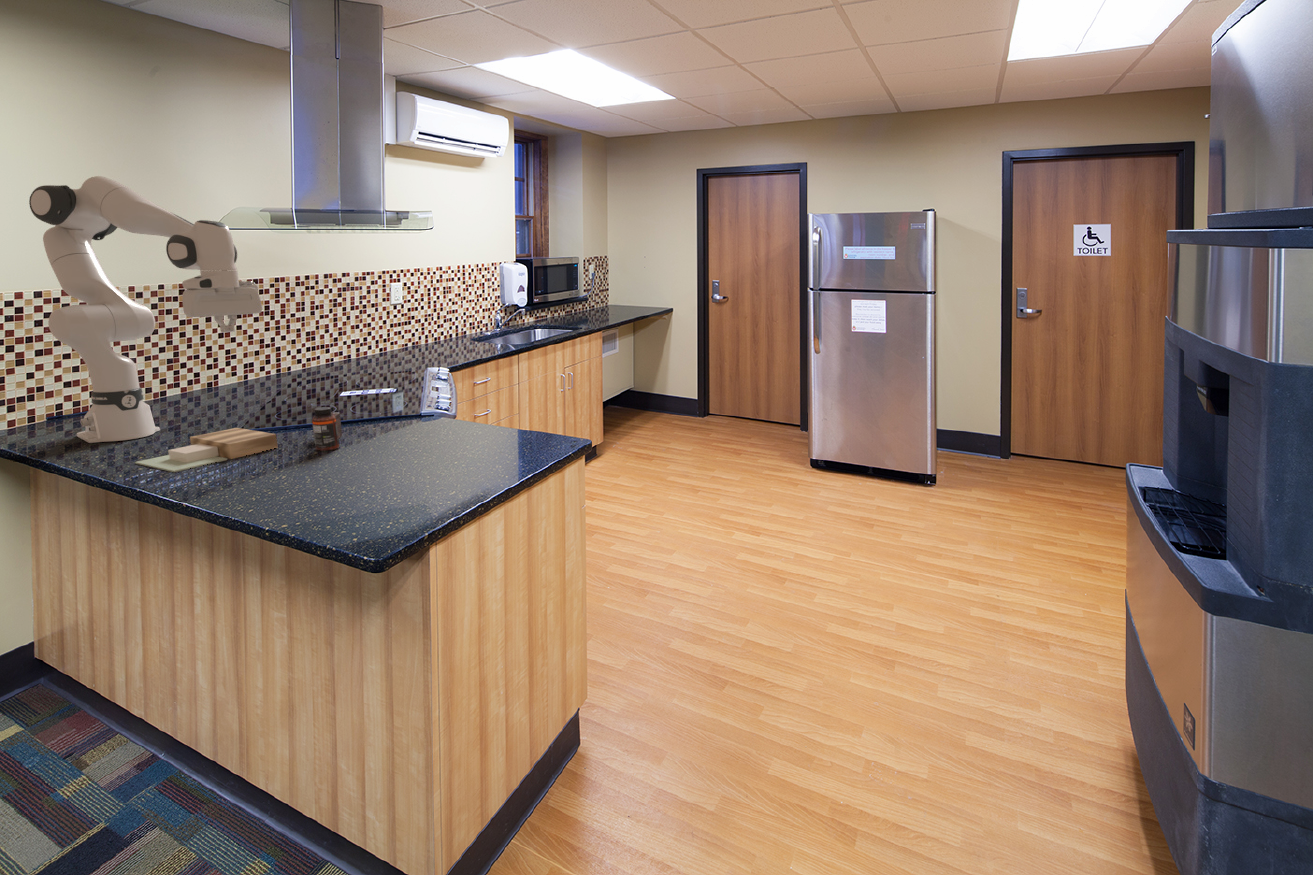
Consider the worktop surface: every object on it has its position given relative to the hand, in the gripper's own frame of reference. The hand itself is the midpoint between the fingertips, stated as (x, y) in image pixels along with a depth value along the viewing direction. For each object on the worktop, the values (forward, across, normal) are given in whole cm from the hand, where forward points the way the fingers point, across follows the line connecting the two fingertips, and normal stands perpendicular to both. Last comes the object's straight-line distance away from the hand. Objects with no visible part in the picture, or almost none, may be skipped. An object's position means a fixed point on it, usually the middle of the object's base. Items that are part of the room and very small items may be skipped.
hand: (227, 331), depth 200 cm
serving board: (+31, +8, +10) cm, 34 cm away
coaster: (+31, +19, +10) cm, 38 cm away
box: (+31, -12, +22) cm, 40 cm away
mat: (+31, +22, +10) cm, 40 cm away
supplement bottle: (+31, -4, +32) cm, 45 cm away
